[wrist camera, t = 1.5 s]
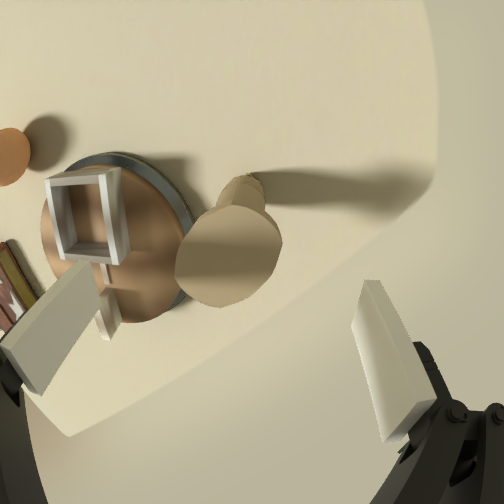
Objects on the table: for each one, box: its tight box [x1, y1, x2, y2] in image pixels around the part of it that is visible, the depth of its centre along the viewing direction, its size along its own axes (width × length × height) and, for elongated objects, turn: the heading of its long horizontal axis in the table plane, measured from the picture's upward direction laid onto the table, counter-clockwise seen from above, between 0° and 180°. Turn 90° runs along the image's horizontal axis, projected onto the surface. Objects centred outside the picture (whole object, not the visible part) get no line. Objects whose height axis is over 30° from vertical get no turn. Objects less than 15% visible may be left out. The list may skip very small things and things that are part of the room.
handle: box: [174, 173, 282, 308], centre depth 22 cm, size 5×6×15 cm
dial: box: [41, 164, 185, 340], centre depth 28 cm, size 20×20×6 cm
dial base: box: [64, 153, 195, 312], centre depth 31 cm, size 22×22×2 cm
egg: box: [0, 128, 31, 187], centre depth 23 cm, size 7×7×8 cm
